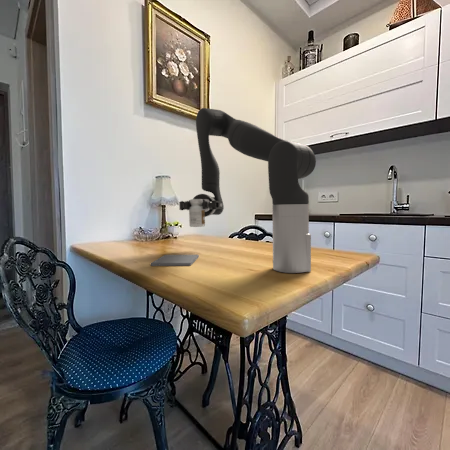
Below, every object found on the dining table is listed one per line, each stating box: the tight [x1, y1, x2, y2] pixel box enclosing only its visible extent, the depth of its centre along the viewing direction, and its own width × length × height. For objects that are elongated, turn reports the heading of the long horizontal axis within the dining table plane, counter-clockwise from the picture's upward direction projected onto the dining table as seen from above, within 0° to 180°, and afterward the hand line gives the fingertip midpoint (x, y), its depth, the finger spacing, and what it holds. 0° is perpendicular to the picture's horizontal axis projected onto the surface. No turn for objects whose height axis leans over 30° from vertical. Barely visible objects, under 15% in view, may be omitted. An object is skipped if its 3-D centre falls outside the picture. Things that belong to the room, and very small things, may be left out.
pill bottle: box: [188, 198, 206, 228], centre depth 73 cm, size 4×4×8 cm
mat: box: [150, 254, 200, 267], centre depth 83 cm, size 12×14×1 cm
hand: (195, 205), depth 70 cm, fingers closed on pill bottle, 4 cm apart
